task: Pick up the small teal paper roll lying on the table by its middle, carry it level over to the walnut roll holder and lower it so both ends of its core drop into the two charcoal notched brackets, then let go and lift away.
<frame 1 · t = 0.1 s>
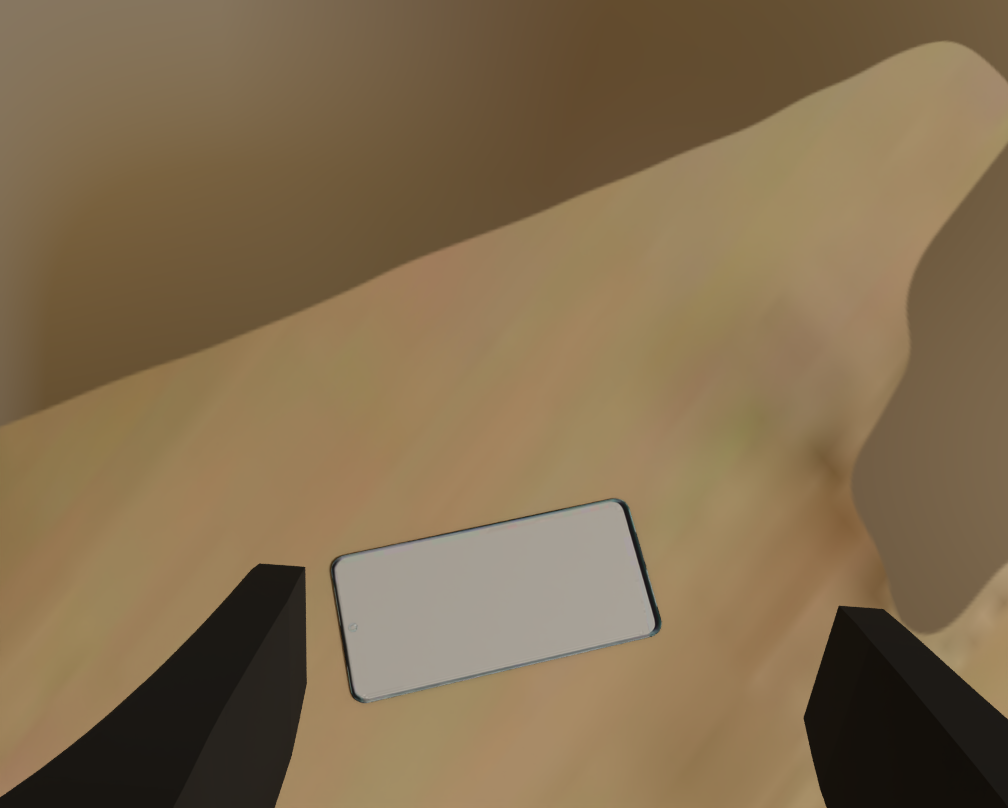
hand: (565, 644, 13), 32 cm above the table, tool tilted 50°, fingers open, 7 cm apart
smartphone: (495, 598, 45), on the table
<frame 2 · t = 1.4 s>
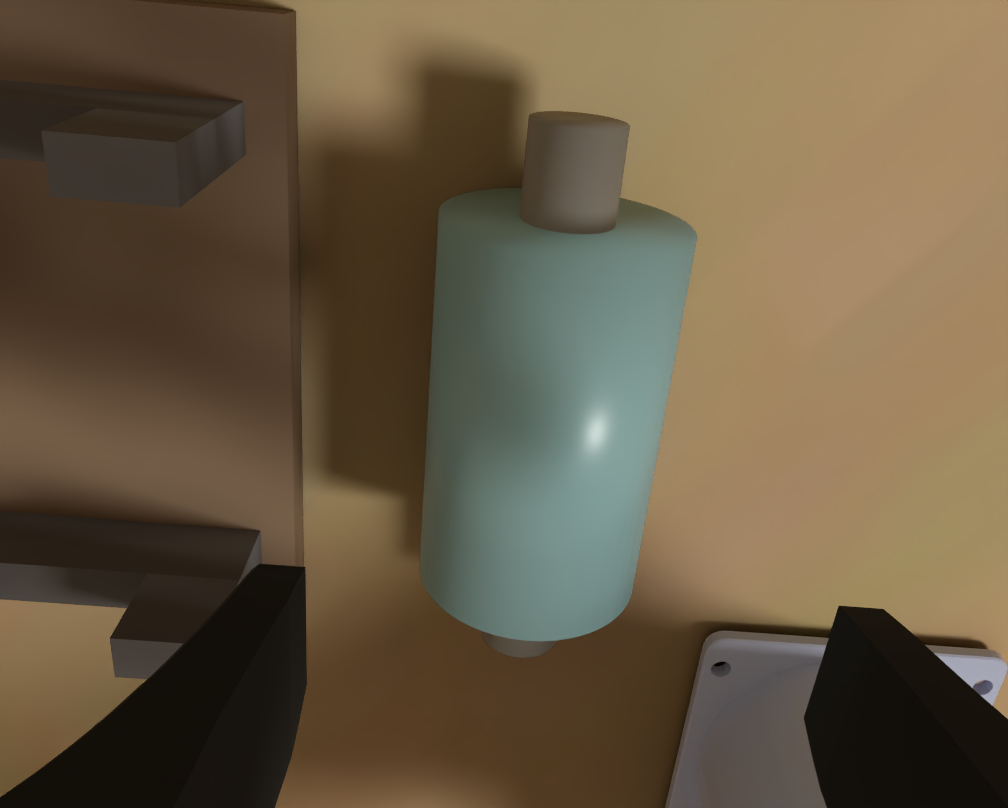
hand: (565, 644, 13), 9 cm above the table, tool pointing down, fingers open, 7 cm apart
holder: (99, 329, 21), on the table
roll: (545, 410, 19), point 2 cm above the table
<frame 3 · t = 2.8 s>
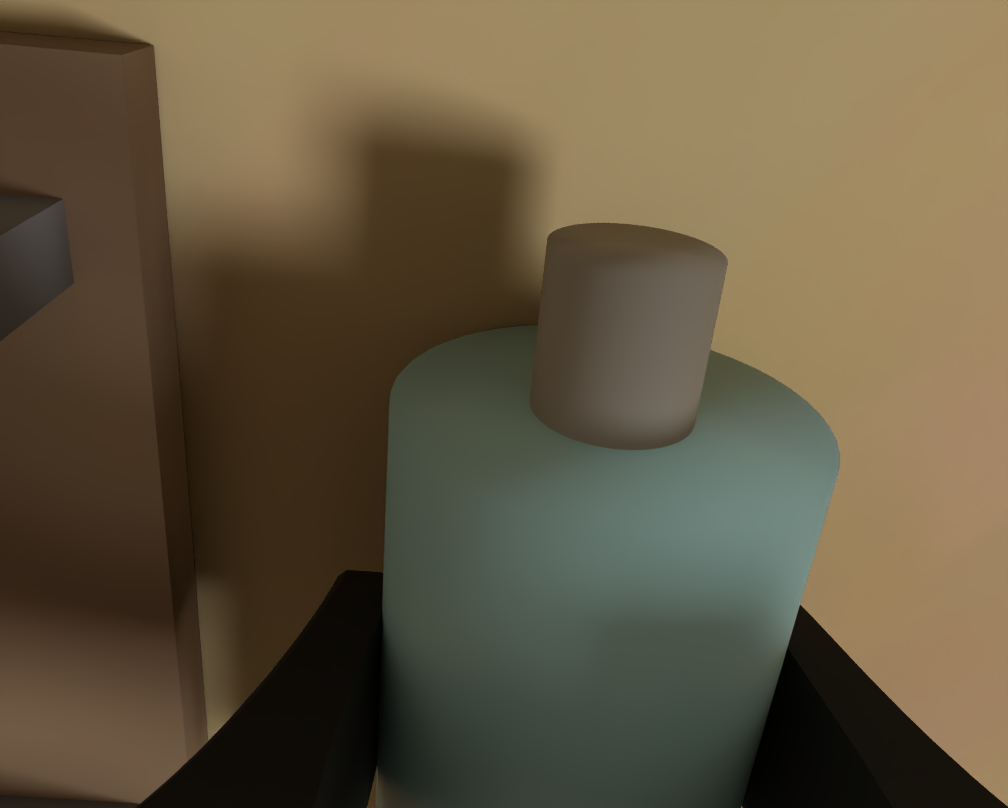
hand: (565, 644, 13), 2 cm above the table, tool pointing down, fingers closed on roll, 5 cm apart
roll: (568, 686, 12), point 2 cm above the table, touching gripper
when the fingers open (4 cm above the table, at t = 7.4 s): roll stays where it is, resting on holder.
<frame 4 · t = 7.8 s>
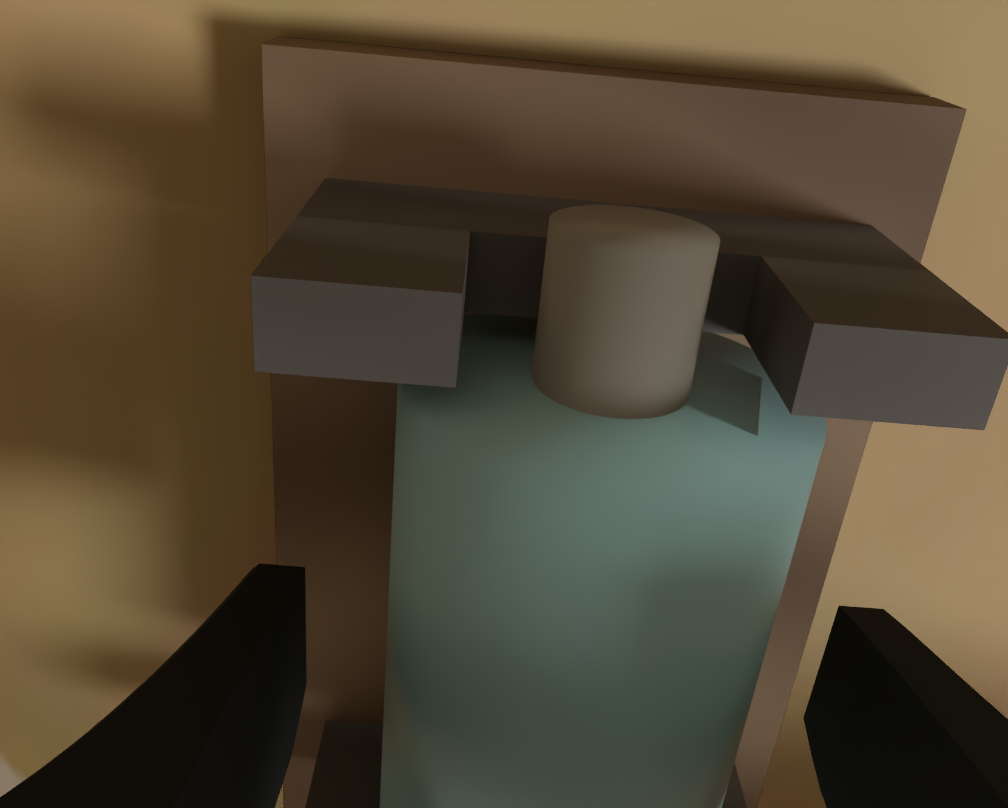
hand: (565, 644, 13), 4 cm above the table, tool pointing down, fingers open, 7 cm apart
holder: (554, 500, 16), on the table
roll: (567, 652, 12), point 4 cm above the table, touching holder
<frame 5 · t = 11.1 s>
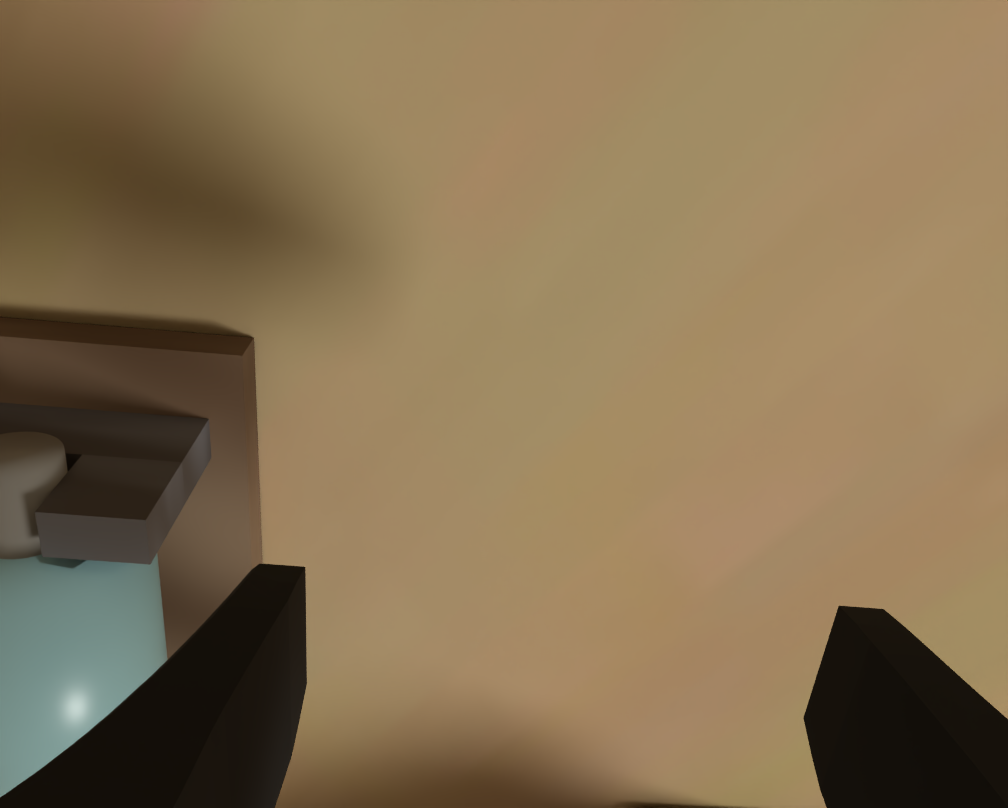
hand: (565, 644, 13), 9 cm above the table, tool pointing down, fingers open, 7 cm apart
holder: (86, 575, 24), on the table
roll: (51, 683, 20), point 4 cm above the table, tilted 49°, touching holder
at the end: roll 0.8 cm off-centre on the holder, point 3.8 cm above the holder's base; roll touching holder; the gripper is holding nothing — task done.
